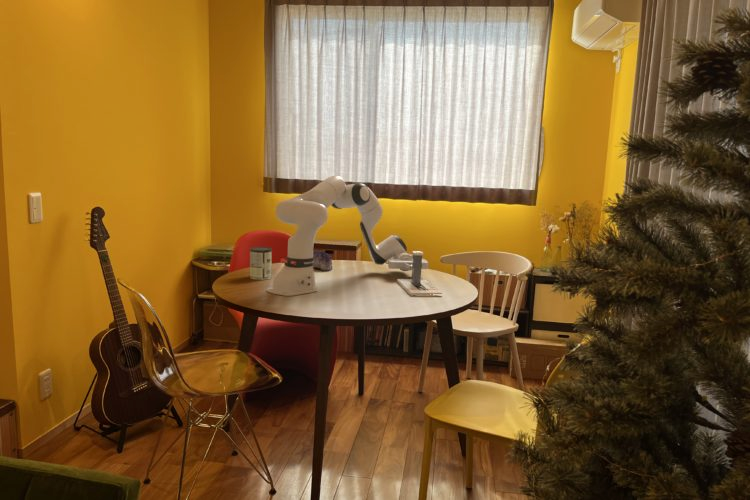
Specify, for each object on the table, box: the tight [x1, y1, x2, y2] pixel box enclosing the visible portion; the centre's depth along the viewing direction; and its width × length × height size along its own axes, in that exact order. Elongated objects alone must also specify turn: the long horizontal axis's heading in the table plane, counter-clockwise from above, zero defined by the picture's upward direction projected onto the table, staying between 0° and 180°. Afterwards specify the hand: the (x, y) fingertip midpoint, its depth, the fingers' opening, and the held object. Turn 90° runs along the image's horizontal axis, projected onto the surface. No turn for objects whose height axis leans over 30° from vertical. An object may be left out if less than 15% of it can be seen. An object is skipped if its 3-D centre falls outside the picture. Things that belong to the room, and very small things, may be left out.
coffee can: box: [249, 246, 273, 281], centre depth 266 cm, size 10×10×14 cm
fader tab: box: [411, 250, 424, 286], centre depth 262 cm, size 4×4×16 cm
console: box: [396, 278, 443, 296], centre depth 259 cm, size 28×14×2 cm, turn 10°
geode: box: [313, 249, 333, 272], centre depth 298 cm, size 20×12×10 cm, turn 29°
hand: (411, 267), depth 272 cm, fingers closed
